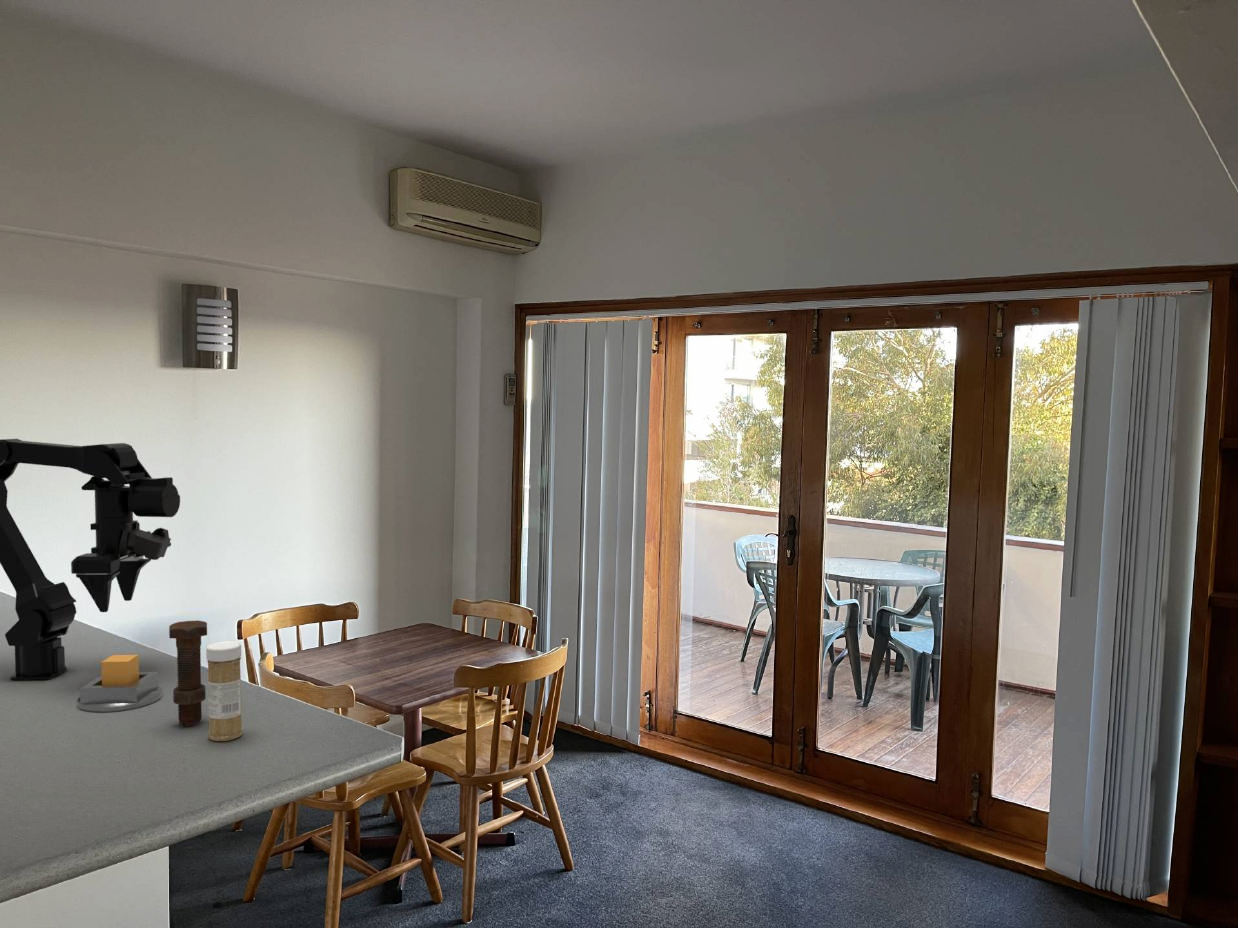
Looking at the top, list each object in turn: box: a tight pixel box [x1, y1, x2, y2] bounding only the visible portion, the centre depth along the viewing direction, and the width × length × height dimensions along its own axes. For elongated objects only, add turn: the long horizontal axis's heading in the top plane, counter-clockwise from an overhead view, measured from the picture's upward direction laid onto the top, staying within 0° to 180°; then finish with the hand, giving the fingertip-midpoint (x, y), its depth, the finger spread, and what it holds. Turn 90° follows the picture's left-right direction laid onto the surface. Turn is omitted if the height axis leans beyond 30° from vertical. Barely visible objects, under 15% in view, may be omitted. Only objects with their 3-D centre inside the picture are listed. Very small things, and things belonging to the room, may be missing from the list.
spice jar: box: [206, 640, 243, 742], centre depth 132 cm, size 5×5×14 cm
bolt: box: [168, 620, 208, 728], centre depth 137 cm, size 6×5×15 cm
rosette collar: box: [76, 671, 163, 713], centre depth 148 cm, size 12×12×3 cm
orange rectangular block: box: [100, 654, 140, 686], centre depth 148 cm, size 4×4×6 cm
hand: (116, 606), depth 160 cm, fingers open, 9 cm apart
